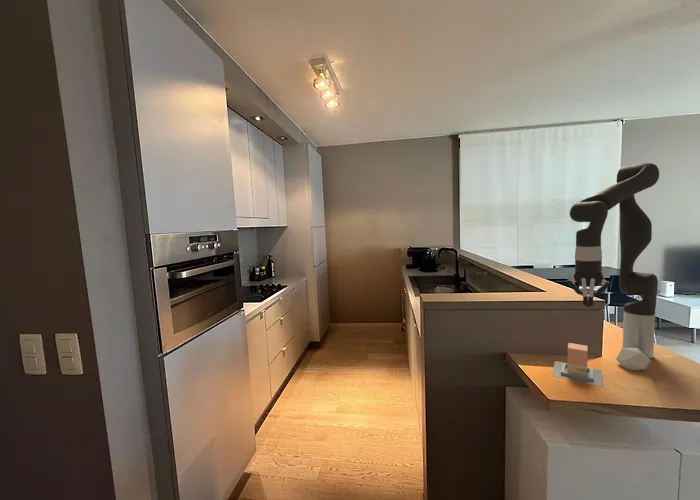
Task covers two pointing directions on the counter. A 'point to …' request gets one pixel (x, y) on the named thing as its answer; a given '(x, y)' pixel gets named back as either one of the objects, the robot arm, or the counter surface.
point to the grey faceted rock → (633, 359)
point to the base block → (576, 369)
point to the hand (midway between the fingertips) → (588, 306)
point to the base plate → (592, 374)
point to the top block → (577, 354)
